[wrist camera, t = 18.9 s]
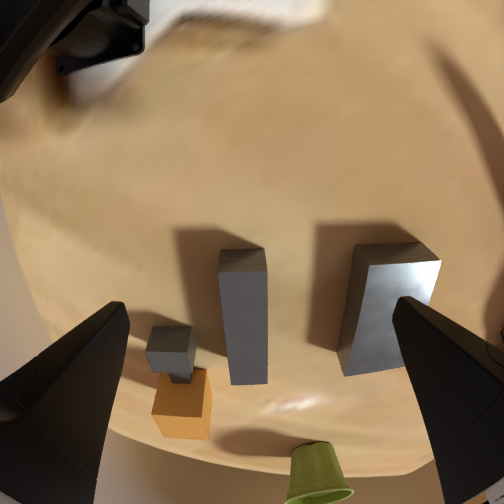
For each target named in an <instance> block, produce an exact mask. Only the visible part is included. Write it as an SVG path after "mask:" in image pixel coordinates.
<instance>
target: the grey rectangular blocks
mask: <svg viewBox="0 0 504 504" xmlns="http://www.w3.org/2000/svg"><path fill="white" fill-rule="evenodd" d="M440 264H441V260H440V259H439V258H438V257H437V256H436V255H435V254H434V253H433V252H432V251H431V250H429V249H428V248H427V247H426V246H425V245H424V244H423V243H400V244H372V245H355V248H354V256H353V263H352V270H351V277H350V283H349V289H348V296H347V301H346V307H345V313H344V318H343V323H342V328H341V333H340V338H339V343H338V348H337V356H338V359H339V362H340V365H341V368H342V372H343V375H344V377H345V376H352V375H359V374H365V373H371V372H377V371H383V370H388V369H394V368H399V367H404V366H405V364H404V362H403V359H402V355H401V352H400V348H399V344H398V341H397V337H396V333H395V330H394V326H393V323H392V315H393V312H394V309H395V306H396V303H397V300H398V298H399V297H401V296H411V297H413V298H415V299H417V300H418V301H420V302H422V303H424V304H425V305H427V306H428V304H429V301H430V297H431V294H432V291H433V288H434V285H435V281H436V278H437V274H438V271H439V267H440ZM218 280H219V289H220V298H221V307H222V316H223V325H224V333H225V341H226V349H227V357H228V365H229V372H230V380H231V385H255V384H267V376H268V296H267V265H266V257H265V250H264V249H243V250H221V254H220V260H219V267H218Z"/></svg>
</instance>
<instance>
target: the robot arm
mask: <svg viewBox="0 0 504 504" xmlns="http://www.w3.org/2000/svg"><path fill="white" fill-rule="evenodd" d="M149 1H150V0H0V103H2V102H4V101H6V100H7V99H9V98H10V97H11V96H13V95H14V93H15V92H16V90H17V89H18V87H19V86H20V84H21V83H22V81H23V80H24V78H25V77H26V76H27V74H28V73H29V71H30V70H31V69H32V67H33V66H34V65H35V63H36V62H37V61H38V59H39V58H40V57H41V56H42V54H43V53H44V54H51V55H56V71H57V74H58V75H67V74H70V73H73V72H76V71H80V70H83V69H86V68H89V67H93V66H96V65H100V64H103V63H107V62H111V61H115V60H119V59H123V58H127V57H132V56H137V55H139V54H141V53H142V52H143V51H144V48H145V25H147V23H148V22H149ZM136 45H139V49H138V50H136V51H134V47H135V46H136ZM63 66H65V70H64V71H62V68H63ZM392 323H393V326H394V330H395V333H396V337H397V341H398V344H399V348H400V352H401V355H402V359H403V362H404V364H405V367H406V370H407V373H408V375H409V378H410V381H411V384H412V387H413V389H414V392H415V395H416V398H417V401H418V404H419V407H420V410H421V413H422V417H423V420H424V423H425V426H426V430H427V433H428V436H429V440H430V443H431V447H432V451H433V454H434V458H435V460H436V461H435V462H436V466H437V470H438V474H439V479H440V482H441V487H442V492H443V497H444V501H445V504H464V503H466V502H467V501H469V500H471V499H473V498H475V497H476V496H478V495H480V494H481V493H483V492H486V496H487V498H488V500H487V501H485V502H484V503H482V504H504V352H503V351H501V350H500V349H498V348H496V347H495V346H493V345H491V344H490V343H488V342H487V341H486V342H485V340H483V339H482V338H480V337H479V336H477V335H475V334H474V333H472V332H470V331H469V330H467V329H466V328H464V327H462V326H461V325H459V324H457V323H456V322H454V321H452V320H451V319H449V318H447V317H446V316H444V315H442V314H441V313H439V312H437V311H435V310H434V309H432V308H430V307H429V306H427V305H425V304H424V303H422V302H420V301H418V300H417V299H415V298H413V297H411V296H401V297H399V298H398V300H397V303H396V306H395V309H394V312H393V315H392ZM129 330H130V321H129V318H128V314H127V311H126V307H125V304H124V303H123V302H119V301H112V302H110V303H108V304H107V305H105V306H104V307H103V308H101V309H100V310H98V311H97V312H96V313H94V314H93V315H91V316H90V317H89V318H87V319H86V320H84V321H83V322H82V323H80V324H79V325H78V326H76V327H75V328H73V329H72V330H71V331H69V332H68V333H67V334H65V335H64V336H62V337H61V338H60V339H58V340H57V341H56V342H54V343H53V344H52V345H50V346H49V347H48V348H46V349H45V350H44V351H42V352H41V353H40V354H38V356H36V357H34V358H33V359H32V360H30V361H29V362H28V363H27V364H25V365H24V366H22V367H21V368H20V369H18V370H17V371H15V372H14V373H12V374H11V375H9V376H8V377H6V378H5V379H3V380H2V381H0V504H93V502H94V495H95V489H96V483H97V480H96V479H97V476H98V471H99V465H100V460H101V455H102V450H103V445H104V441H105V436H106V432H107V427H108V423H109V419H110V415H111V411H112V407H113V403H114V399H115V395H116V391H117V387H118V384H119V380H120V376H121V373H122V369H123V364H124V358H125V352H126V346H127V341H128V335H129Z"/></svg>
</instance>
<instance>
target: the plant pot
mask: <svg viewBox="0 0 504 504" xmlns="http://www.w3.org/2000/svg"><path fill="white" fill-rule="evenodd" d="M353 493H354V490H353V489H352V488H350V486H349V484H348V482H347V481H346V480H345V478H344V475H343V473H342V470H341V467H340V465H339V462H338V459H337V456H336V454H335V451H334V448H333V446H332V445H331V444H329V443H325V442H316V443H314V444H312V445H302V446H300V447H298V448H296V449H295V450H293V451H292V454H291V472H290V484H289V491H288V493H287V500H285V501H284V504H330V503H334V502H337V501H340V500H343V499H346V498H348V497H349V496H351V495H352V494H353Z"/></svg>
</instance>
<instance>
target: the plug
mask: <svg viewBox="0 0 504 504" xmlns="http://www.w3.org/2000/svg"><path fill="white" fill-rule="evenodd" d="M145 353H146V355H147V358H148V361H149V363H150V366H151V368H152V371H153V372H161V375H160V379H159V383H158V387H157V391H156V395H155V400H154V404H153V408H152V413H151V415H152V417H153V419H154V421H155V422H156V424H157V426H158V428H159V430H160V431H161V433H162V435H163V437H166V438H178V439H194V440H209V434H210V420H211V407H212V392H211V388H210V383H209V379H208V374H207V370H193V367H194V360H195V354H196V343H195V339H194V334H193V329H192V327H153V329H152V332H151V335H150V338H149V341H148V344H147V347H146V350H145Z"/></svg>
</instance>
